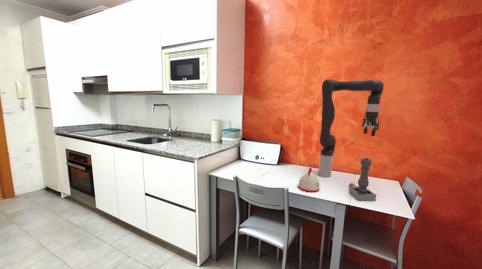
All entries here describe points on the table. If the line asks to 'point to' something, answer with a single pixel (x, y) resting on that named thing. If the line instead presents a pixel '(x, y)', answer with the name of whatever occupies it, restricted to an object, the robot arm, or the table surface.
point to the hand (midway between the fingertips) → (368, 134)
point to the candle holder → (364, 176)
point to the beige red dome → (309, 182)
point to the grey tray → (361, 197)
